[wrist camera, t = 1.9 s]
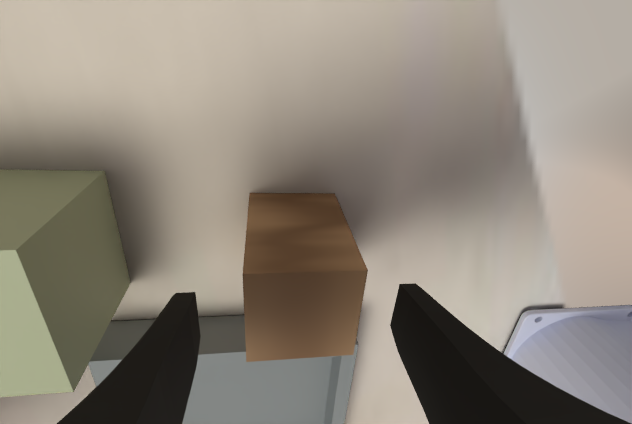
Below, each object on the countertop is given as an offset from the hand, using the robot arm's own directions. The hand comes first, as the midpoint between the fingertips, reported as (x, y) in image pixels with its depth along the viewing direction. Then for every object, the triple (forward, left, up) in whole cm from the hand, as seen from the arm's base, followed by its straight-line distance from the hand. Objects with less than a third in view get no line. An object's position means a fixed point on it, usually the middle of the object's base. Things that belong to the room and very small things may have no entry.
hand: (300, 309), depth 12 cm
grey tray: (+3, +12, -6) cm, 14 cm away
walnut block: (0, 0, -6) cm, 6 cm away
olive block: (+11, 0, -6) cm, 12 cm away
